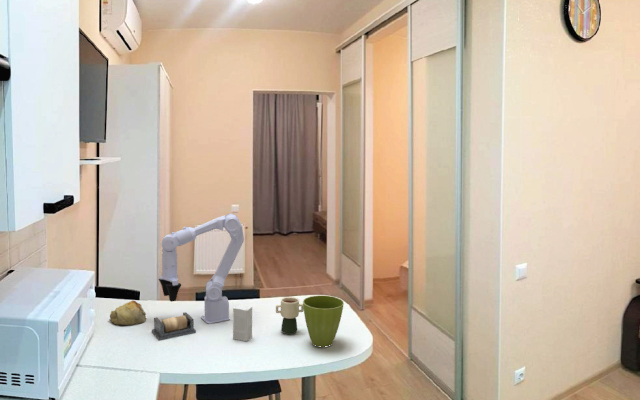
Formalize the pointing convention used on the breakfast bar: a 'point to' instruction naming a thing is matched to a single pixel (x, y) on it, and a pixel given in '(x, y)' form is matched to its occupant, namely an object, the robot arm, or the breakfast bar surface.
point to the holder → (160, 334)
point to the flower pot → (322, 318)
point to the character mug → (289, 314)
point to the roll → (174, 323)
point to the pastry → (128, 314)
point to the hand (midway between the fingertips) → (169, 298)
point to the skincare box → (242, 323)
